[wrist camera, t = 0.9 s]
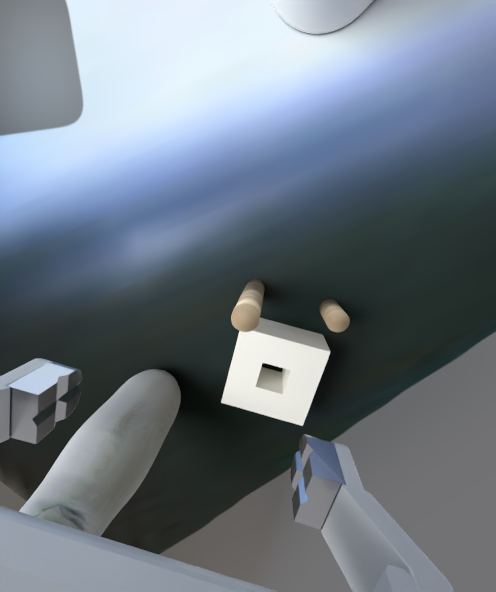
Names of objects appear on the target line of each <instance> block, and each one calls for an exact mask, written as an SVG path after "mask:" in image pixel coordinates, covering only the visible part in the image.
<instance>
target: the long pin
mask: <svg viewBox="0 0 496 592" xmlns="http://www.w3.org/2000/svg"><path fill="white" fill-rule="evenodd" d="M264 290H265V287H264V284H263V283H262V282H261V281H260V280H257V279H253V280H250V281H249V282H248V283H247V285H246V287H245V289H244V291H243V293H242V295H241V297H240V299H239V301H238V303H237V305H236V306H235V308H234V310H233V312H232V315H231V321H232V324H233V326H234V327H235V328H236V329H238V330H239V331H242V332H250V331H252V330H254V329H255V328H256V327H257V326H258V324H259V319H260V313H261V308H262V302H263V296H264Z"/></svg>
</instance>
